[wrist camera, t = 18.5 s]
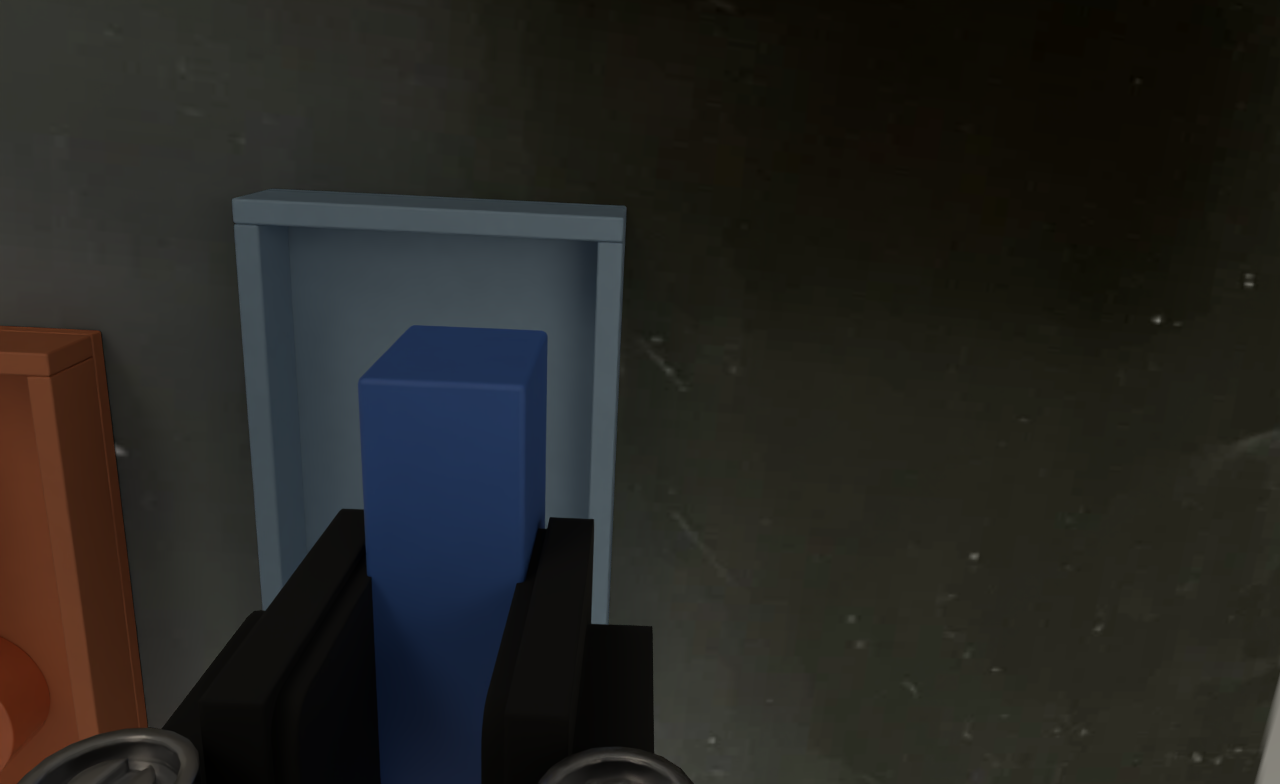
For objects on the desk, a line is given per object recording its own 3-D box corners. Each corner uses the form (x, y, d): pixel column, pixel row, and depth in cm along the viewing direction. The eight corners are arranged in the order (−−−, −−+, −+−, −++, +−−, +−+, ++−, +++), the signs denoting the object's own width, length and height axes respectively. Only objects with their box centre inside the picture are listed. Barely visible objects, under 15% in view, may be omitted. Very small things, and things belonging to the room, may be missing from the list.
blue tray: (270, 188, 25) (230, 198, 23) (626, 205, 25) (624, 217, 23) (302, 696, 29) (271, 749, 27) (604, 710, 30) (600, 764, 27)
